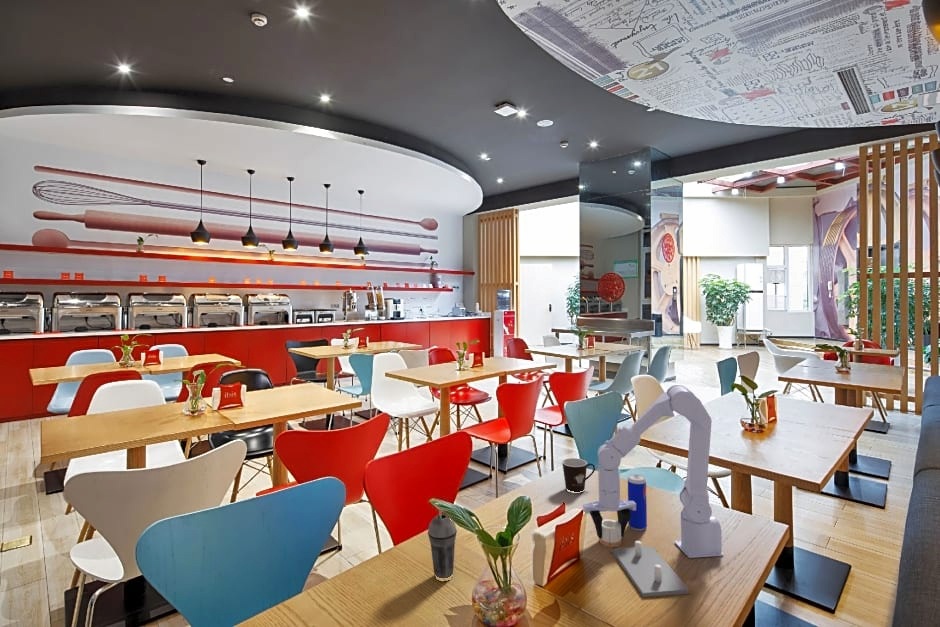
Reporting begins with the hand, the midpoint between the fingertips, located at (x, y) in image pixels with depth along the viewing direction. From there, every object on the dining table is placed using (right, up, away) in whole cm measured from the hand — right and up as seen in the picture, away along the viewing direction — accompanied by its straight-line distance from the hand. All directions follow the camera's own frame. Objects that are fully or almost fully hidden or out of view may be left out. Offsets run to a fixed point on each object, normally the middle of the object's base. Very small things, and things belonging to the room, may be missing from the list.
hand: (610, 535), depth 133 cm
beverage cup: (-46, -4, -14) cm, 48 cm away
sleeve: (0, -2, 0) cm, 2 cm away
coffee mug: (0, -1, +35) cm, 35 cm away
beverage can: (+11, -1, +8) cm, 13 cm away
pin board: (+5, -2, -15) cm, 16 cm away
